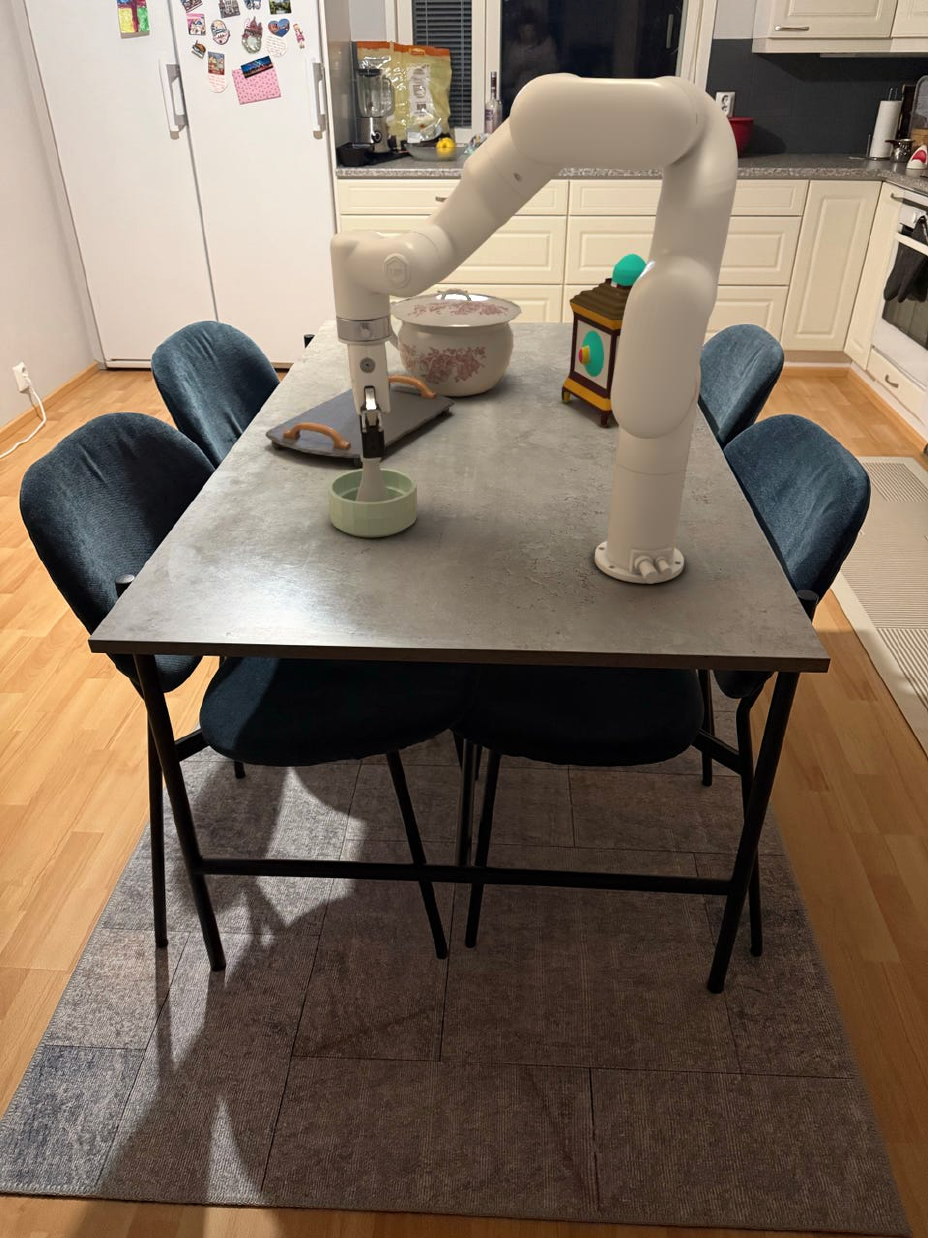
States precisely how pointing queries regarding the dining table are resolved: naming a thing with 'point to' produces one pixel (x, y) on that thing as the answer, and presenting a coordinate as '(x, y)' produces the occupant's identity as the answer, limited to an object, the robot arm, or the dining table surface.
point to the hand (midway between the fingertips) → (372, 444)
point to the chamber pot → (455, 340)
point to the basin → (372, 504)
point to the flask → (372, 482)
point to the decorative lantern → (599, 336)
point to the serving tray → (358, 421)
